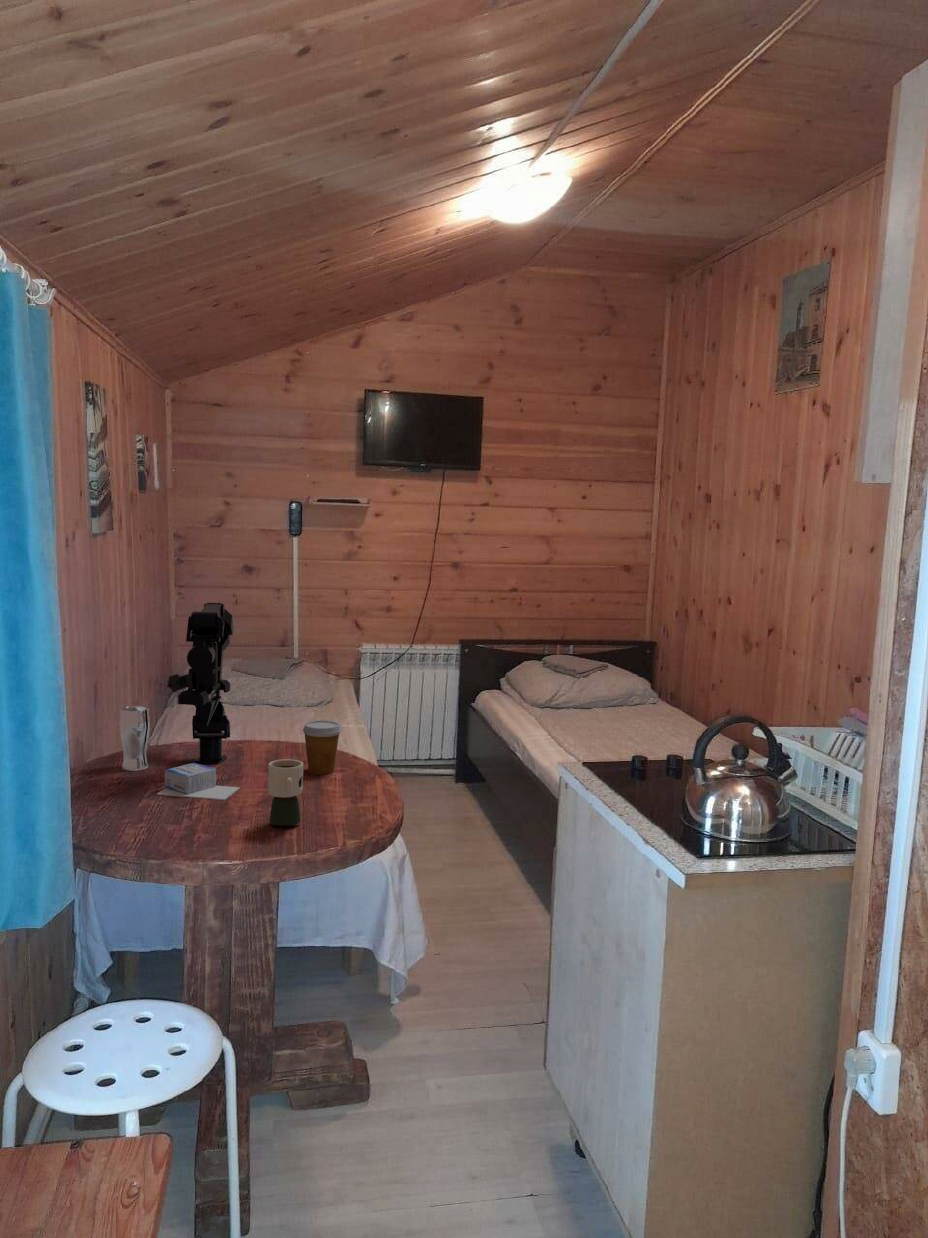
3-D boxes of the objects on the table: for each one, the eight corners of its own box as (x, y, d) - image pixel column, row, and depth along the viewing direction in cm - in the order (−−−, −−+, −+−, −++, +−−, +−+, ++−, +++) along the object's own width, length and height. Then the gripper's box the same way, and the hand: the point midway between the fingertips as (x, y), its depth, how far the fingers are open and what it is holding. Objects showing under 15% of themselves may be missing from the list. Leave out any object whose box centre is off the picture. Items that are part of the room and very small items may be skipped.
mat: (174, 783, 215) (174, 782, 215) (239, 788, 213) (239, 787, 213) (156, 794, 206) (156, 793, 206) (224, 800, 204) (224, 799, 204)
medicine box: (216, 768, 212) (186, 775, 205) (216, 786, 213) (186, 795, 206) (194, 762, 217) (164, 769, 209) (193, 780, 217) (163, 788, 210)
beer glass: (143, 772, 223) (143, 712, 221) (115, 771, 223) (115, 710, 221) (153, 764, 230) (153, 706, 228) (126, 763, 230) (126, 705, 228)
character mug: (306, 831, 186) (307, 769, 184) (271, 834, 183) (272, 771, 182) (297, 814, 196) (298, 755, 195) (264, 817, 194) (264, 757, 192)
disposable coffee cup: (341, 766, 235) (342, 720, 233) (338, 777, 225) (339, 729, 224) (304, 765, 234) (305, 719, 233) (299, 776, 225) (300, 728, 223)
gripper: (188, 655, 230) (188, 716, 232) (156, 667, 212) (156, 733, 213) (231, 657, 229) (230, 718, 231) (202, 670, 210) (202, 736, 212)
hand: (204, 726), depth 222 cm, fingers closed
